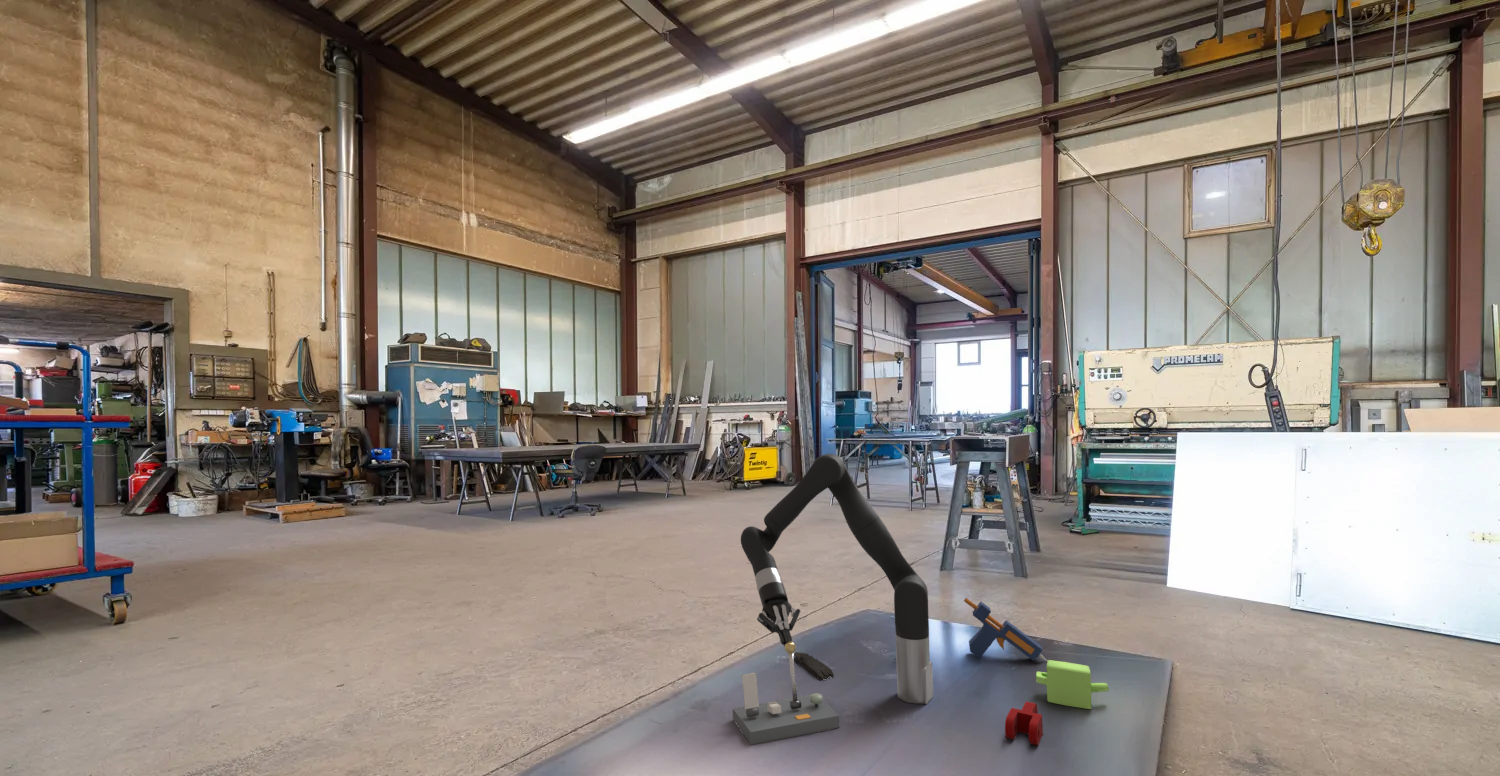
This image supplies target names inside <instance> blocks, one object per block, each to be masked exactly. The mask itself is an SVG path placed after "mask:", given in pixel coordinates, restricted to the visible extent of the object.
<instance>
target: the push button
mask: <svg viewBox="0 0 1500 776" xmlns="http://www.w3.org/2000/svg"><path fill="white" fill-rule="evenodd" d="M809 695H810V702H811V703H814V704H815V707H818V704H820V703H822V701H823V695H822V694H821V693H818V692H816V693H811V694H809Z"/></svg>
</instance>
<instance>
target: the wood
mask: <svg viewBox="0 0 1500 776" xmlns="http://www.w3.org/2000/svg"><path fill="white" fill-rule="evenodd" d="M793 656H794V657H795V658H796V659H797V661H798V662H799V664H800V663H801V664H802V665H803V666H804V668H805V669H807V670H808V671H809V672H810V673H811V674H812V673H813V674H812V675H814V676H815V677H816V678H817V677H818V678H819V679H820V680H819V679H818V678H817V679H818V680H819V681H821V680H823V679H827V678H828V677H829V676H831V677H833V676H834V675H835V674H834V673H833V670H832V669H831V668H830V667H829V666H828V665H826V664H825V663H823V662H822V661H821V660H819V659H817V658H815V657H814V656H813V655H811V654H810V655H809V653H807V652H806V653H805V652H799V651H798V652H797V651H796V652H794V653H793ZM801 664H800V665H801ZM802 665H801V666H802ZM803 666H802V667H803ZM834 677H835V676H834ZM834 677H833V678H834Z"/></svg>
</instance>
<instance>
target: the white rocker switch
mask: <svg viewBox="0 0 1500 776" xmlns="http://www.w3.org/2000/svg"><path fill="white" fill-rule="evenodd" d="M767 708H768V711H769V712H770V713H772V714H777V713H781V706H780V705H779V704H777V702H773V701H770V703H768V704H767Z"/></svg>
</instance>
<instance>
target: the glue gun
mask: <svg viewBox="0 0 1500 776" xmlns="http://www.w3.org/2000/svg"><path fill="white" fill-rule="evenodd" d="M963 602H964V603H966V605H968V606H969V607H971V608H972V609H973V610H972V616H973V617H974V618H975V619H977V620H978V621H980V623H982V624H983V625H982V626H981V628H980V629H979V630H978V631H977V632H976V633H975V635H973V636H972V637H971V638H970V639H969V640H968V643H969V644H968V645H969V651H970V653H972V654H973V655H974V656H976V658H978V659H981V658H982V656H983V655H985V653H986V652H987V651H988V649H989V648H990V646H991V645H992V644H993V643H994V641H995V640H996V642H997V643H998V645H999V647H1000V648H1001V649H1002V650H1004V651H1005V645H1004V643H1005V641H1006V642H1008V643H1009V644H1010V645H1012V646H1013V647H1015V648H1016V649H1017V650H1018V651H1020V652H1021V653H1023V654H1024V655H1025V656H1026V657H1028V658H1029V659H1031V661H1034V662H1035V661H1036V660H1037V659H1038V658H1040V659H1042V660H1044V661H1045V662H1048V659H1046V658H1045V656H1044V655H1042V651H1043V647H1042V646H1041V645H1040V643H1038V642H1037V641H1036V640H1034V639H1033V638H1031V637H1030V636H1029V635H1027V634H1026V633H1025V632H1023V631H1022V630H1020V628H1018V627H1017V626H1015V625H1014V624H1012V623H1011V622H1009V621H1008V620H1007V619H1006V620H1004V622H1003V623H1001V622H999V621H998V620H996V619H995V618H994V617H992V615H990V614H991V613H992V612H991V607H989V606H988V605H986V604H985V603H984V602H982V601H980V602H979V603H978V604H975V603H974V602H972V600H970V599H968V598H967V597H965V598H964V600H963Z"/></svg>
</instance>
